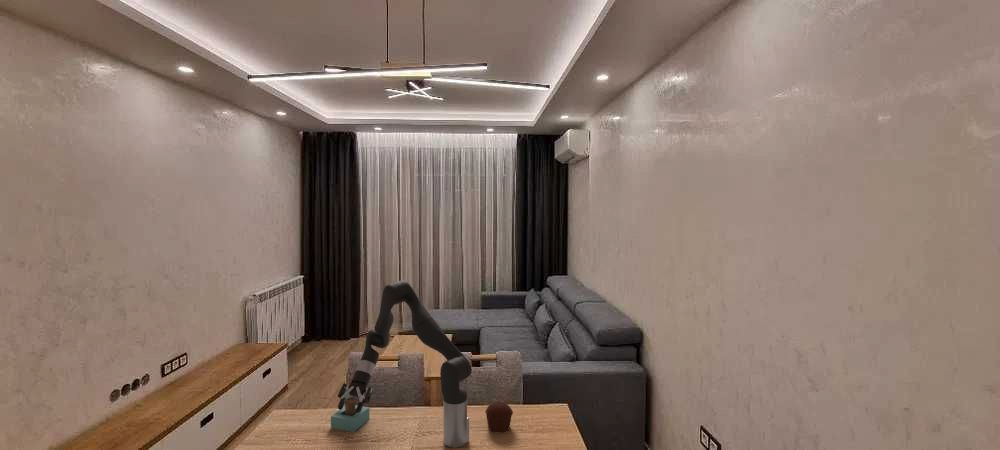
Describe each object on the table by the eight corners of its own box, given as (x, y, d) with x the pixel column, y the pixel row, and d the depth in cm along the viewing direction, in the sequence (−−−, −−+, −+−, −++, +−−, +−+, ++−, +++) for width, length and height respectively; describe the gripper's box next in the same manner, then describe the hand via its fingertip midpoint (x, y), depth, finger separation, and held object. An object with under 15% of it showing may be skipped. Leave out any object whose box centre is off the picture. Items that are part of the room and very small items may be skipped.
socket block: (347, 414, 193) (347, 403, 192) (369, 418, 189) (369, 407, 189) (331, 427, 182) (330, 416, 182) (354, 432, 179) (353, 420, 179)
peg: (354, 419, 189) (354, 397, 188) (356, 424, 185) (355, 401, 184) (345, 422, 187) (344, 399, 186) (346, 426, 183) (345, 403, 182)
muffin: (479, 425, 184) (480, 402, 184) (500, 417, 191) (500, 394, 190) (497, 438, 175) (497, 414, 174) (518, 428, 182) (518, 405, 181)
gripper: (345, 367, 193) (329, 405, 183) (374, 371, 189) (359, 410, 179) (353, 374, 199) (338, 411, 189) (381, 378, 195) (366, 416, 185)
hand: (348, 410), depth 184 cm, fingers open, 8 cm apart
